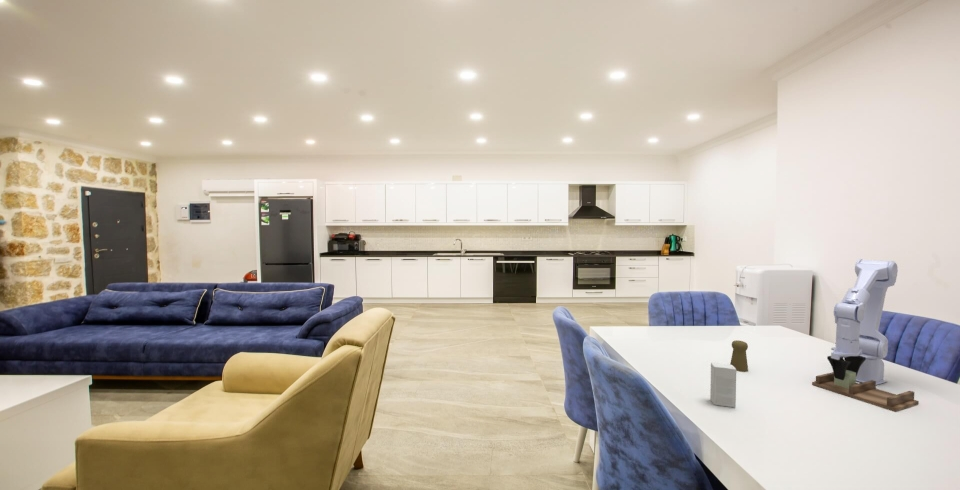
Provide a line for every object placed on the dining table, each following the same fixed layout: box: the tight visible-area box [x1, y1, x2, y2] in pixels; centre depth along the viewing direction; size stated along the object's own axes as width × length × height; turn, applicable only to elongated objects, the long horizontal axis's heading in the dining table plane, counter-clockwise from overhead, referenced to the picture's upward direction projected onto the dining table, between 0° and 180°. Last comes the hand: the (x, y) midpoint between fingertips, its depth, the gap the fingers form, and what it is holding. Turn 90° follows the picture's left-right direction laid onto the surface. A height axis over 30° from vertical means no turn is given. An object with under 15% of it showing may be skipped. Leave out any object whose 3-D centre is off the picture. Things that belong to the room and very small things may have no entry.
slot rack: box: [811, 371, 920, 413], centre depth 125 cm, size 14×21×4 cm, turn 22°
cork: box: [729, 340, 749, 373], centre depth 147 cm, size 6×6×11 cm
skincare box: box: [709, 362, 737, 408], centre depth 117 cm, size 6×4×12 cm
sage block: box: [834, 370, 857, 389], centre depth 129 cm, size 4×4×5 cm
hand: (845, 377), depth 129 cm, fingers open, 7 cm apart
